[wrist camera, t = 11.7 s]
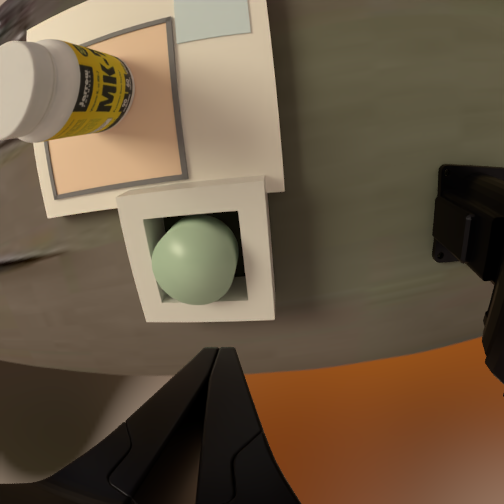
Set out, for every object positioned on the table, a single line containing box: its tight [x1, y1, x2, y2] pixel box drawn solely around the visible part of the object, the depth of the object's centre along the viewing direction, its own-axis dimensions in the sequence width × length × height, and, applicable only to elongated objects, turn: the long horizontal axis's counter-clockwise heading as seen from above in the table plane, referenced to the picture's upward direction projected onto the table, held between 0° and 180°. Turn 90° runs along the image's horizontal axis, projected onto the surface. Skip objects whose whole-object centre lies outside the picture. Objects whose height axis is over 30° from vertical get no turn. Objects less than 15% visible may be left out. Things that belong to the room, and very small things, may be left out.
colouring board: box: [27, 0, 285, 218], centre depth 16 cm, size 16×14×1 cm
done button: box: [152, 214, 239, 305], centre depth 18 cm, size 4×4×2 cm
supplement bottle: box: [0, 39, 135, 143], centre depth 12 cm, size 5×5×8 cm
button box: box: [116, 175, 275, 322], centre depth 19 cm, size 8×8×3 cm
